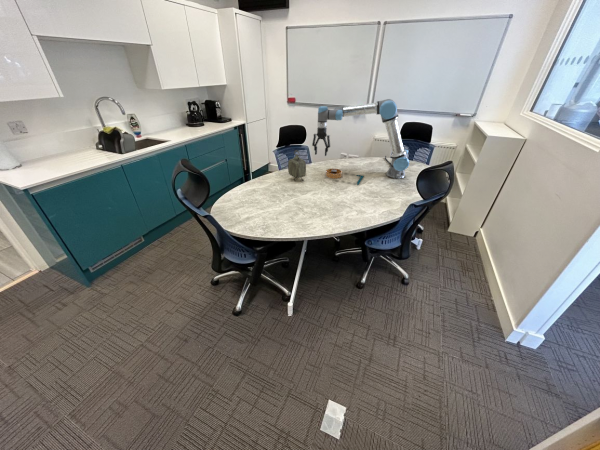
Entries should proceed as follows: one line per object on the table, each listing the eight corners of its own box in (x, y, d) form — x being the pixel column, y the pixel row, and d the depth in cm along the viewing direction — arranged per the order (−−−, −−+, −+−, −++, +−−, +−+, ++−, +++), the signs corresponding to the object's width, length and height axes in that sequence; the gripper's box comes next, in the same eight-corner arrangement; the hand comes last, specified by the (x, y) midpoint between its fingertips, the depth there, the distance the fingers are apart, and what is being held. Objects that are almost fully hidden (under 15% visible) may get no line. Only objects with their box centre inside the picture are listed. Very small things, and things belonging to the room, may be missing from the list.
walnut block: (331, 174, 219) (331, 169, 217) (336, 174, 219) (336, 169, 216) (331, 176, 216) (331, 171, 213) (336, 176, 215) (336, 171, 213)
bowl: (328, 172, 225) (328, 167, 223) (343, 174, 220) (343, 169, 218) (323, 177, 215) (323, 172, 212) (338, 180, 210) (339, 175, 207)
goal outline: (340, 172, 225) (340, 172, 225) (363, 176, 217) (363, 175, 217) (333, 180, 208) (333, 180, 208) (358, 185, 201) (358, 184, 201)
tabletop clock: (305, 181, 207) (306, 151, 193) (296, 184, 202) (296, 153, 189) (296, 176, 217) (296, 147, 203) (287, 178, 212) (286, 149, 199)
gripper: (308, 127, 201) (307, 154, 213) (333, 129, 194) (331, 157, 206) (311, 125, 207) (311, 152, 219) (335, 127, 200) (333, 155, 212)
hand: (320, 154), depth 213 cm, fingers open, 8 cm apart
